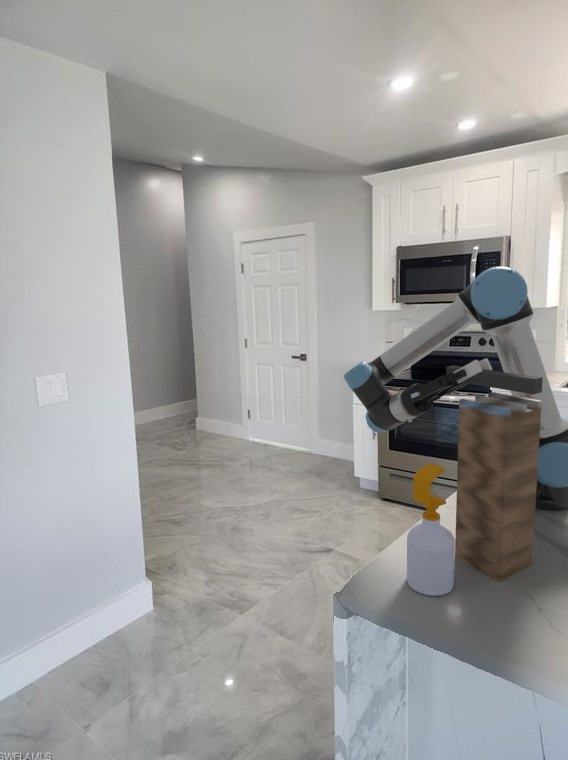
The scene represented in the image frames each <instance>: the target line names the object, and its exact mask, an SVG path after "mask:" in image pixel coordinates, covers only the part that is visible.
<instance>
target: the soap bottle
mask: <svg viewBox="0 0 568 760" xmlns="http://www.w3.org/2000/svg"><path fill="white" fill-rule="evenodd" d="M445 472H446V470H445V468H444V467H443V466H439V465H437V464H435V463H427V464H426V465H425V466H423V467H421V468H420V469H419V470H417V471H416V472H415V473H414V475H413V480H412V481H413V484H412V485H413V486H412V487H413V493H412V495H413V496H412V497H413V501H415V502H416V503H418V504H421V505H423V507H424V508H425V509H426V510H425V511H423V512H422V515H421V516H422V519H421V521H422V522H421V523H419V524H416V525H414V526H413V527H412V528H410V529H409V532H408V534H407V537H406V581H407V583H408V586H409V587H410V588H411V589H412V590H413V591H416V592H417V593H419V594H422V595H426V596H432V597H437V596H445V595H448V594H449V593H450V592H451V591H452V590H454V584H455V583H454V582H455V537H454V535H453V533H452V531H450V530H449V529H447V528H446V527H445V526H443V525H441V515H440V513H439V512H437V510H438V509H439V507H441V506H445V505H446V504H447V501H446V499H443V498H441V497H438V496H437V495H433V494H431V485H432V482H433V481H434V480H436V479H437V478H438V477H440V476H441V475H442V474H444V473H445Z"/></svg>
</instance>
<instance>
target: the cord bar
mask: <svg viewBox="0 0 568 760" xmlns="http://www.w3.org/2000/svg"><path fill="white" fill-rule="evenodd" d="M462 367H463V366H460V365H449V366H446V369H445V370H446V371H445V372H446V373H445V376H446V375H447V374H449V373H452V374H454V373H453V372H454V371H456V370H458V369H460V368H462ZM542 379H543V377H536V376H529V375H521V374H514V373H506V372H504V371H498V370H484V369H482V372H480V373H478V374H476V375H475V376H473V377H471V378H469V379H467V380H465V381H463V382H462V383H468V384H469V385H474V386H480V387H481V386H482V387H488V388H493V389H499V390H505V391H510V392H511V391H516V392H522V393H528V394H538V393H542ZM456 382H457V381H456ZM468 384H467V385H468Z"/></svg>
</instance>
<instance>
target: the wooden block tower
mask: <svg viewBox="0 0 568 760" xmlns="http://www.w3.org/2000/svg"><path fill="white" fill-rule="evenodd" d="M458 405H459V406H458V437H457V438H458V439H457V467H456V468H457V470H456V472H457V474H456V475H457V477H456V478H457V479H456V503H455V504H456V505H455V506H456V507H455V508H456V511H455V537H454V539H455V555H454V559H456V560H458V561H460V562H462V563H465V564H466V565H468V566H470V567H472V568H474V569H476V570H478V571H479V572H480V573H481V572H482V573H483V574H485V575H486V576H488V577H491V578H492V579H494V580H497V581H498V582H502V581H503V580H505V579H507V578H508V577H511V576H512V575H515V574H516V573H519V571H522V570H524V569H526V568H527V567H529V566H531V565H533V555H534V554H533V553H534V552H533V551H534V536H535V521H536V520H535V518H536V508H535V506H536V489H537V472H538V455H539V439H540V422H541V405H542V401H541V400H535V399H529V398H524V397H518V396H512V394H506V393H501V392H494V391H492V392H489V396H483V395H475V396H474V400H470V399H464V398H462V399H459V403H458Z"/></svg>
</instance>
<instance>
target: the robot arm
mask: <svg viewBox="0 0 568 760" xmlns="http://www.w3.org/2000/svg"><path fill="white" fill-rule="evenodd" d="M533 317H534V311H533V308H532V305H531V301H530V300H529V296H528V285H527V282H526V281H525V278H524V276H522V275H521V274H520V272H518V271H517V270H515V269H513V268H511V267H508V266H501V265H499V266H497V265H496V266H493V267H489V268H488V269H486V270H483V271H482V272H480V273H479V274H478V275H477V276H476V277H475V278H474V280H473V281H472V282H471V283H470V284H469V285H468V286H467V287H466V288H464V289H463V290H462V291H461V292H459V293H457V294H456V297H455V300H454V301H453V302H452V303H451V304H448V306H446V307H445V308H444V309H442V310H441V311H439V312H438V313H436V314H435V315H434V316H432V317H431V318H429V319H428V320H427V321H426V322H424V323H423V324H421V325H420V326H419V327H417V328H416V329H415V330H413V331H412V332H410V333H409V334H407V335H406V336H405V337H404V338H402V339H401V340H399V341H398V342H397V343H395V344H394V345H392V346H391V347H389V349H387V350H386V351H384V352H382V353H381V354H380V355H379V356H376V357H375V358H374V359H373V360H371V361H370V362H367V361H365V360H363V361H360V362H359V363H357V365H355V366H353V367H352V368H351V369H349V370H348V371H346V373H344V375H343V379H344V380H345V382H346V384H347V385H348V388H350V389H351V391H352V392H353V393H354V394H355V396H356V397H357V398H358V400H359V401H360V403H361V405H363V407H364V408H365V410H366V413H365V420H366V424H367V427H368V428H369V429H370V430H371V431H373V432H375V433H378V434H379V433H380V434H382V433H385V432H388V431H392V430H394V429H395V428H397V427H400V426H401V425H402V424H405V423H406V422H407V423H412V422H413V419H415V418H417V417H419V416H422V415H423V414H426V413H429V412H430V411H431V410H432V408H433V405H434V402H436V401H439V400H441V398H442V397H445V396H447V395H452V393H455V392H456V391H457V390H459V389H461V388H463V387H465V386H466V385H468V383H462V382H463V381H465V380H467V379H469V378H471V377H473V376H475V375H476V374H478V373H480V372H482V369H484V370H491V371H493V367H492V365H491V362H490V361H489V358H488V357H487V358H483V359H481V360H478V359H475V360H472V361H471V362H469V363H468V364H466V365H464V366H461V367H462V368H460V369H458V370H456V371H454V372H453V373H454V374H452V373H449V374H447V375H446V374H444V375H440V376H439V377H436V378H434V379H433V380H431V381H428V382H427V383H425V384H422V383H413V384H411V385H409V386H408V387H406V388H404V389H402V390H400V391H399V392H397V393H394V394H393V395H391V393H390V391H389V390H388V389H387V388H386V386H385V385H386V384H387V383H388V382H390V381H392V380H393V379H395V378H396V377H397V376H398V375H400V374H402V373H403V372H405V371H406V370H407V369H409V368H410V367H412V366H413V365H414V364H416V363H418V362H419V361H420V360H421V359H423V358H424V357H426V356H428V355H429V354H431V353H432V352H433V351H435V350H436V349H438V348H439V347H441V346H442V345H444V344H445V343H446V342H448V341H449V340H451V339H452V338H455V336H457V335H458V334H460V333H461V332H463V331H464V330H466V329H467V328H468V327H469V326H471V325H473V324H475V325H480V327H481V330H482V332H484V333H486V334H488V335H490V336H491V339H492V341H493V345H494V347H495V350H496V353H497V356H498V359H499V361H500V364H501V367H502V372H506V373H514V374H521V375H529V376H536V377H543V379H542V393H538V394H528V393H522V392H516V391H510V393H511V394H510V395H512V396H518V397H524V398H529V399H535V400H541V401H542V405H541V422H540V439H539V455H538V472H537V489H536V506H535V509H538V510H544V511H545V510H546V511H560V510H561V511H563V510H568V418H565V417H561V414H560V411H559V408H558V404H557V402H556V399H555V396H554V393H553V391H552V387H551V384H550V381H549V379H548V375H547V373H546V370H545V367H544V364H543V360H542V358H541V355H540V352H539V348H538V345H537V343H536V340H535V337H534V333H533V330H532V328H531V325H530V322H531V320H532V319H533ZM456 381H457V382H456Z"/></svg>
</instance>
